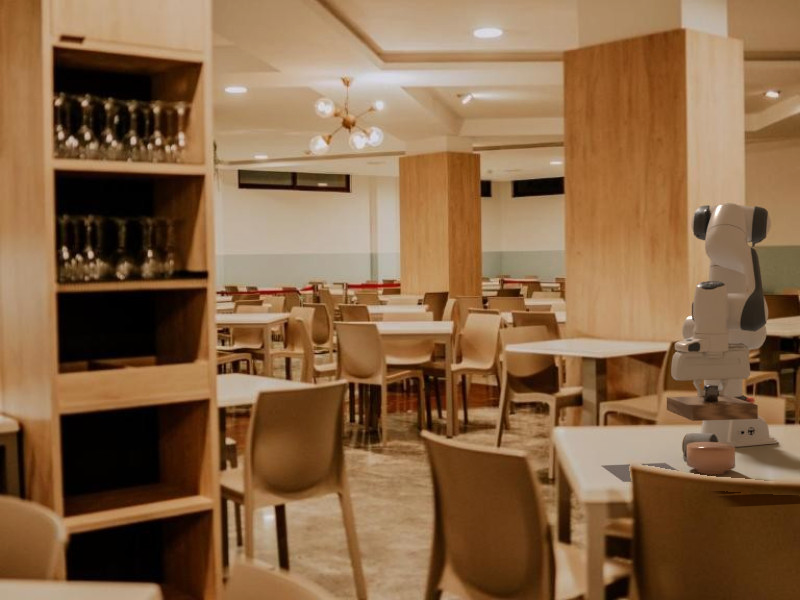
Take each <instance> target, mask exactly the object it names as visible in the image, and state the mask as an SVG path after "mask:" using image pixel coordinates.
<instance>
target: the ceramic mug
mask: <svg viewBox="0 0 800 600" xmlns="http://www.w3.org/2000/svg"><path fill="white" fill-rule="evenodd" d="M681 442H682V444H681V451H682V458H683V461H684V462H686V463H687V444H689V443H694V442H718V438H717V436H716V435H715V434H705V433H701V432H699V433H697V432H696V433H695V432H691V433H686V434H685V436H684V437H683V438H682V441H681Z"/></svg>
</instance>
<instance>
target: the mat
mask: <svg viewBox="0 0 800 600" xmlns="http://www.w3.org/2000/svg"><path fill="white" fill-rule="evenodd" d="M641 464H642V465H648V466H655V467H660V468H665V469H671V470H677V471H679V470H678V469H677V468H675V467H673V466H671V465H670V464H668V463H666V462H653V463H641ZM629 466H630V463H629V464H628V463H627V464H607V465H605V464H604V465H603V464H602V465H601V468H603V469H605V470H607V471H608V472H609V473H610V474H612V475H613V476H615V477H616V478H617V479H619V480H620V481H622V482H623V483H624V482H625V483H627V482H632V481H631V478H630V471H629Z"/></svg>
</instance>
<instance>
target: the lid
mask: <svg viewBox="0 0 800 600" xmlns="http://www.w3.org/2000/svg"><path fill="white" fill-rule="evenodd" d="M703 390H705V391H706V393H705V395H706V396H705V397H698V395H695V396H693V395H691V396H690V395H689V396H667V397H666V411H668V412H671V413H673V414H674V415H675V414H676V415H677V416H681V417H683V418H685V419H688V421H689V420H690V421H691V422H692V421H693V422H699V421H700V422H703V421H706V420H738V419H758V415H759V414H758V409H759V407H758V406H759V405H758V404H756V403H754V404H753V403H750V402H746V401H743V400H740V399H737V398H734V397H731V396H728V395H724V397H718V386H717V385H704V384H703Z"/></svg>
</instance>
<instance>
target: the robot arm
mask: <svg viewBox="0 0 800 600" xmlns="http://www.w3.org/2000/svg"><path fill="white" fill-rule="evenodd" d="M771 221H772V219H771V217H770V215H769V211H768V210H767V209H766V208H764V207H761V206H758V205H757V206H756V205H755V206H750V205H739V204H736V203H733V202H726V203H721V204H720V205H711V206H710V205H702V206H699V207H698V208H696V209H695V211H694V213H693V215H692V219H691V230H692V232H693V235H694V237H696V239H697V240H702V241H704V246H705V247H704V248H705V251H704V252H705V254H706V255H707V257H708V258H709V260H710V261H709V270H708V280H707V281H700V282H699V283H698V284H696V286H695V290H694V295H693V296H694V297H693V301H692V304H691V314H690V315H688V316H687V317H686V318H685V320H684V321H683V323H682V328H681V333H682V336H683V340H679V341H676V342H675V343H674V350H675V351H676V352H675V353H674V354H673V355H672V359H671V368H670V371H671V372H670V373H671V375H670V376H671V377H672V378H673V380H675V381H679V382H680V381H692V382H693V383H692V384H693V385H694V387H695V389H696V390H697V395H696V396H698V397H705V396H706V395H705V393H706V391H705V390H704V389H702V387H701V385H702V381H703V386H704V385H717V386H718V397H724V395H728V396H731V397H734V398H737V399H740V400H743V401H746V402H750V403H753V404H756V402H755V401H756V400H755V398H754V397H751V396H748V397H747V396H746V395H744V393H743V388H744V387H743V385H744V384H743V382H744V381H743V380H748V378H749V377H750V376H751V365H750V359H749V358H750V350H758V349H759V348H761V347H762V346H763V345H764V343H765V341H766V338H767V327H766V324H767V322H768V319H769V308H768V303H767V301H766V298H765V295H764V288H763V287H764V286H763V278H762V272H761V271H762V270H761V265H760V260H759V255H758V252H757V250H756V249H755V246H756V244H759V243H761V242H763V241H764V240H765V239H766V238H767V236H768V234H769V232H770V230H771V226H772V222H771ZM748 243H751V246H750V245H749V244H748ZM700 433H705V434H715V435H716V436H717V438H718V443H725V444H730V445H733V446H734V447H735V448H740V447H749V446H759V445H774V444H777V443H778V439H777V437H775V436H774V435H771V434H770V430H769V425H768V423H767V421H766V420H765V419H764V418H763V417H762V416H760V415H759V414H758V419H738V420H706V421H702V424H701V430H700Z"/></svg>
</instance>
